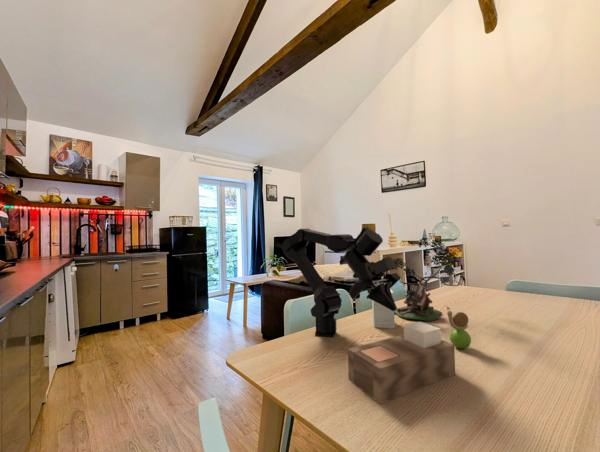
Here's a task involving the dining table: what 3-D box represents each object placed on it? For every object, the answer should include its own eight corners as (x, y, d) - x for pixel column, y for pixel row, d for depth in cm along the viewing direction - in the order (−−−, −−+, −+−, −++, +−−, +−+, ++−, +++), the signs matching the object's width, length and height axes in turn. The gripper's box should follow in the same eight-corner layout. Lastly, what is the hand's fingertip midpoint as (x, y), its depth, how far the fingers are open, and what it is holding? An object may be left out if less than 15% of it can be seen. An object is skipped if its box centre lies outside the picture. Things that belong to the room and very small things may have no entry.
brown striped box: (380, 403, 55) (379, 368, 56) (348, 378, 65) (347, 349, 65) (455, 373, 66) (454, 344, 66) (418, 356, 76) (417, 330, 76)
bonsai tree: (444, 334, 91) (441, 239, 92) (380, 317, 109) (378, 238, 110) (478, 312, 114) (476, 236, 115) (420, 301, 132) (419, 236, 133)
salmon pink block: (379, 395, 58) (378, 361, 58) (360, 381, 64) (360, 351, 64) (399, 387, 61) (398, 355, 61) (380, 374, 66) (379, 345, 66)
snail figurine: (442, 344, 83) (441, 304, 83) (462, 343, 84) (461, 304, 84) (454, 352, 78) (453, 309, 78) (475, 351, 78) (474, 308, 78)
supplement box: (395, 328, 97) (394, 292, 97) (373, 327, 99) (372, 292, 99) (392, 321, 104) (391, 288, 105) (372, 320, 106) (371, 288, 106)
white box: (424, 362, 65) (423, 333, 65) (404, 352, 70) (403, 325, 70) (441, 357, 67) (440, 328, 68) (420, 348, 73) (419, 321, 73)
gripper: (356, 249, 73) (396, 298, 64) (393, 246, 85) (431, 286, 76) (334, 276, 78) (368, 324, 70) (372, 269, 91) (405, 309, 82)
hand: (395, 310), depth 74 cm, fingers closed
